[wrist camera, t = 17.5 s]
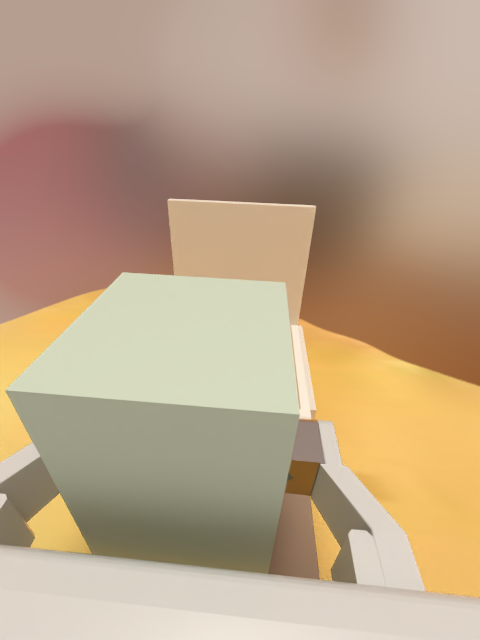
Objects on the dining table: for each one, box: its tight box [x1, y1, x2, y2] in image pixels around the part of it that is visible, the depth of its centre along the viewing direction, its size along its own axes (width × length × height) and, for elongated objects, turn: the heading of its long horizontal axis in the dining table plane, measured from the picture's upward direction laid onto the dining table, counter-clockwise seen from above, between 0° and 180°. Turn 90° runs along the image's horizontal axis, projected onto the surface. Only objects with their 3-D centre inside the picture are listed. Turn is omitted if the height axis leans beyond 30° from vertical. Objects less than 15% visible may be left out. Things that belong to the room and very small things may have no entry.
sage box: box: [5, 273, 300, 574], centre depth 11 cm, size 5×5×14 cm
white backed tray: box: [168, 199, 316, 420], centre depth 22 cm, size 12×12×14 cm
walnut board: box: [268, 492, 320, 580], centre depth 15 cm, size 11×9×1 cm
